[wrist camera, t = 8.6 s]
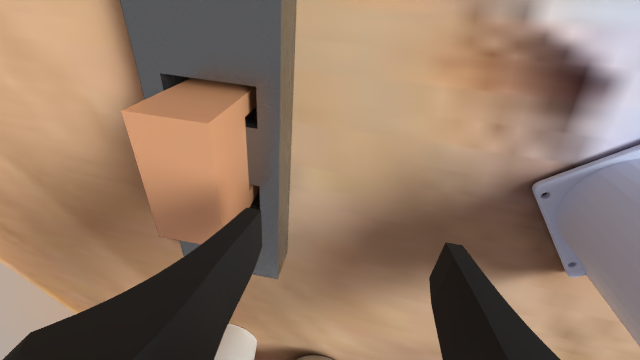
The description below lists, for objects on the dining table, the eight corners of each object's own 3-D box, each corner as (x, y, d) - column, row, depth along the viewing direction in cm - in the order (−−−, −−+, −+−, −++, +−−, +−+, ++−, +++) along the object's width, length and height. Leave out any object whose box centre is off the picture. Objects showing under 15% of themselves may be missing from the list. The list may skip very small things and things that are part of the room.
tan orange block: (264, 182, 22) (225, 248, 17) (214, 174, 23) (159, 236, 17) (261, 81, 18) (208, 123, 12) (201, 73, 18) (120, 110, 13)
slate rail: (287, 251, 26) (277, 279, 24) (202, 236, 27) (184, 261, 24) (299, -65, 14) (282, -77, 12) (144, -79, 15) (96, -94, 12)
